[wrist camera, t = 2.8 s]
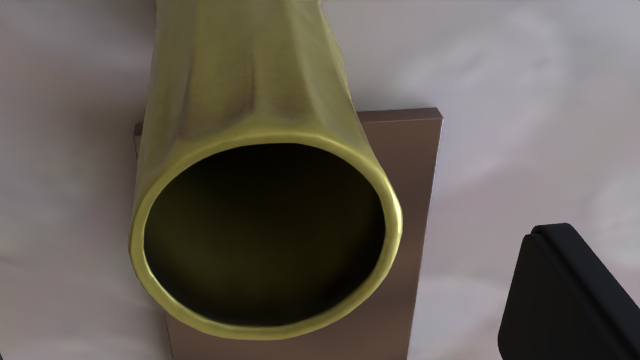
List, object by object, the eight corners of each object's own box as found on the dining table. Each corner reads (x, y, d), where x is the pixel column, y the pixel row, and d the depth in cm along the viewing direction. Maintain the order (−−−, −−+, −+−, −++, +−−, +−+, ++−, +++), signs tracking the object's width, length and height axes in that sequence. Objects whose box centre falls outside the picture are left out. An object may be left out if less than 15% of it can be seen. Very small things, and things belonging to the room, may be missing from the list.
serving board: (135, 124, 25) (132, 136, 25) (437, 106, 27) (444, 117, 26) (185, 415, 37) (185, 430, 36) (396, 390, 39) (400, 403, 38)
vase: (244, 103, 26) (277, 392, 14) (119, 6, 23) (29, 270, 11) (349, -3, 24) (488, 229, 12) (229, -126, 21) (259, 28, 9)
